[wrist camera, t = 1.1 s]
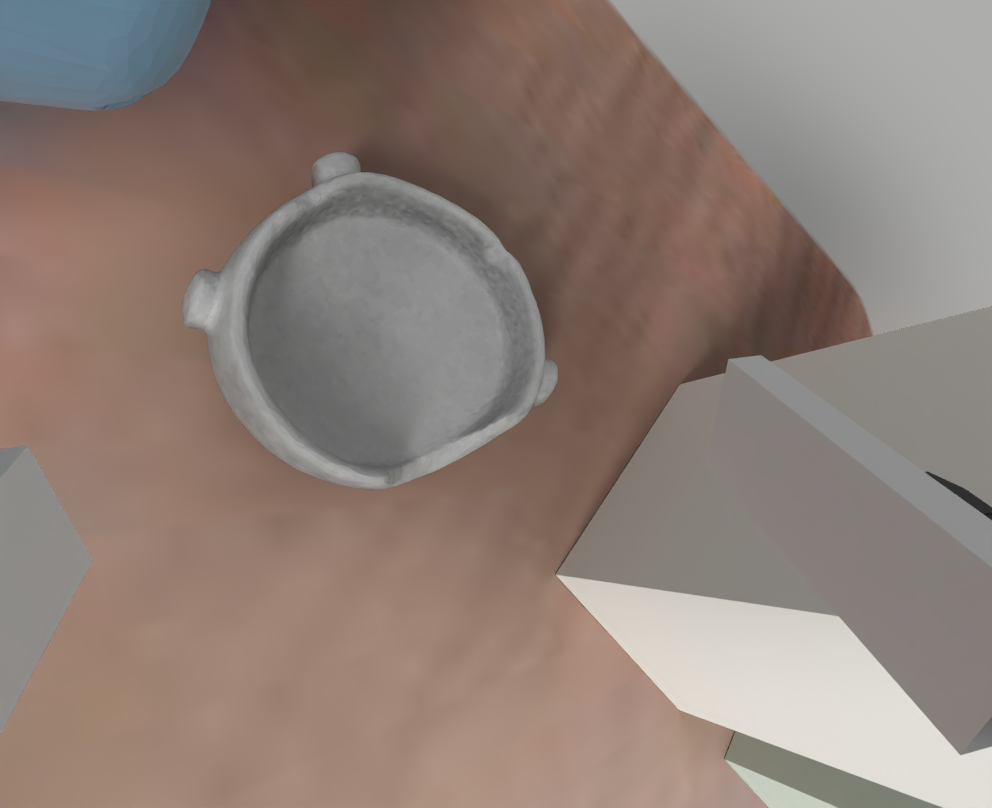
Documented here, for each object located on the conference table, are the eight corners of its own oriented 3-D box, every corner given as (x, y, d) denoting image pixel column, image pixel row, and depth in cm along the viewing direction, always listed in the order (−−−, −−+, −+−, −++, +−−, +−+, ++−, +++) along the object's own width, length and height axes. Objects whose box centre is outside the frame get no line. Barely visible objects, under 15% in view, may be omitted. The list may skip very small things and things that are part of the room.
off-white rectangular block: (679, 709, 33) (2458, 1369, 7) (555, 574, 30) (2778, 901, 5) (770, 507, 40) (1790, 492, 15) (679, 384, 38) (1751, 116, 12)
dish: (536, 379, 32) (595, 358, 27) (356, 563, 25) (397, 573, 20) (372, 159, 29) (410, 97, 24) (114, 298, 22) (104, 246, 17)
